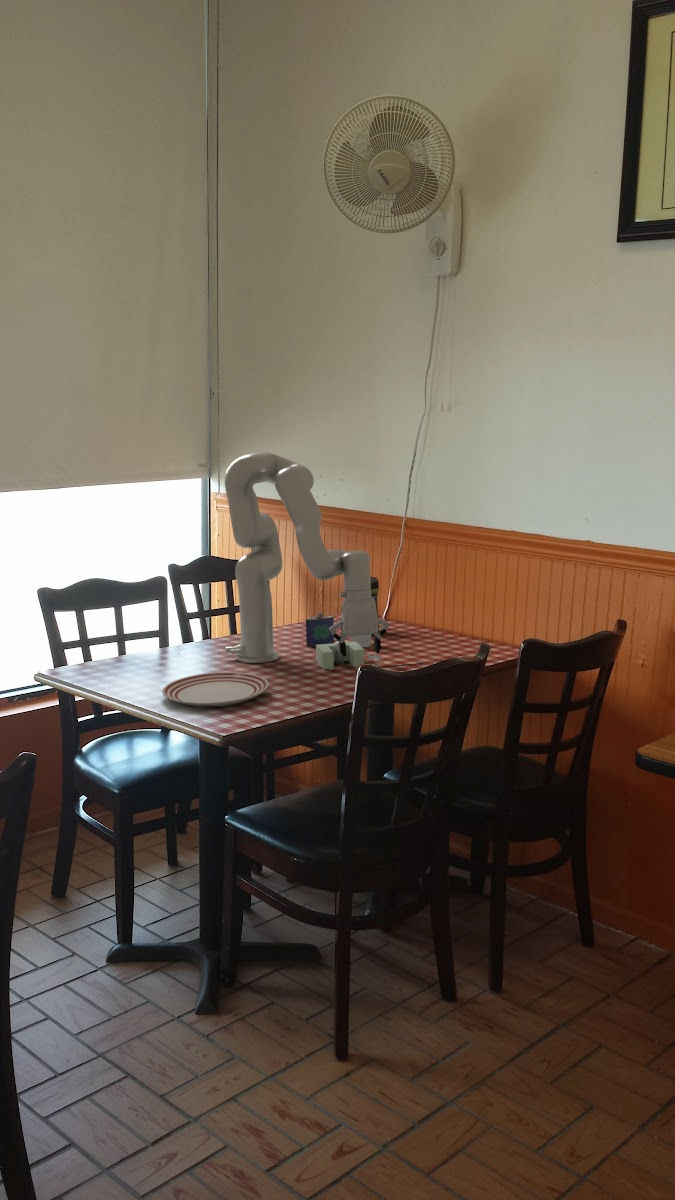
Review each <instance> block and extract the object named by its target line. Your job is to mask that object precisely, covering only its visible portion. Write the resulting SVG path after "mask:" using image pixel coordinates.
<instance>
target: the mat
mask: <svg viewBox="0 0 675 1200" xmlns="http://www.w3.org/2000/svg"><path fill="white" fill-rule="evenodd" d="M406 652H408V651H406ZM371 654H372V653H370V654H366V655H367V656H368V657H369V658H370V659H371V660H375V659H374V658H376V659H383V658H380V657H382V656H377V655H376V654H377V653H374V654H375V655H373V656H371ZM367 656H366V657H367ZM368 657H367V658H368ZM369 658H368V659H369ZM370 659H369V660H370ZM371 660H370V661H371ZM376 661H378V660H376ZM378 662H381V661H378ZM374 663H376V665H375V666H376V667H377V666H380V665H378V663H377V662H374ZM374 663H373V664H374ZM381 663H384V662H381ZM417 663H422V664H423V662H422V661H421V660H420V662H417ZM380 668H384V667H383V666H381V667H380Z"/></svg>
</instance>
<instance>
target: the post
mask: <svg viewBox="0 0 675 1200" xmlns="http://www.w3.org/2000/svg"><path fill="white" fill-rule="evenodd" d="M334 642H335V646H336V663H335V664H336V665H337V664H343V665H345V662H344V656H343V655H342V653H340V648H339V641H338V640H336V641H334Z"/></svg>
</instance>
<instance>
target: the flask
mask: <svg viewBox="0 0 675 1200" xmlns="http://www.w3.org/2000/svg"><path fill="white" fill-rule="evenodd" d="M323 614H324V613H323V612H322V611H319V612H318V615H316V616H310V617H308V618H305V636H306V637H305V639H306V640H305V641H306V648H307V647H316V645H319V644H333V643H335V642H336V641H335V638H334V637H333V635H332V634H331V632H330V630H329V628H330V627H331V626H333V625H334V624H335V619H334V618H335V617H334V616H333V615H327V616H324V615H323Z"/></svg>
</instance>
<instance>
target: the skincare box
mask: <svg viewBox="0 0 675 1200" xmlns="http://www.w3.org/2000/svg"><path fill="white" fill-rule="evenodd" d="M350 638H351V640H350V641H351V642H357V643H358V644H359V645H360V646H361V647H362V648H369V647H368V646H371V647H372V644H373V643H372V642H373V641H372V640H373V639H372V635H362V636H351V637H350Z"/></svg>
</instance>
